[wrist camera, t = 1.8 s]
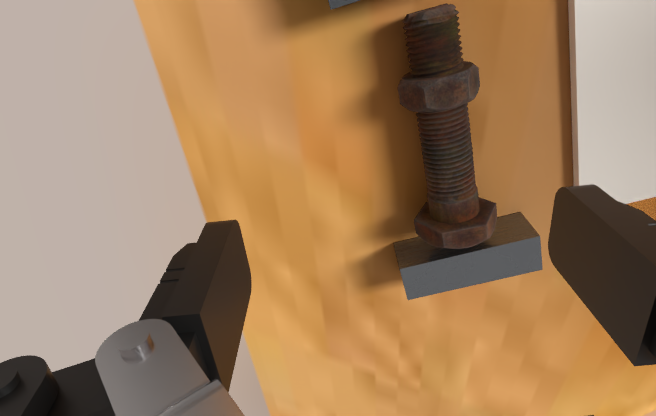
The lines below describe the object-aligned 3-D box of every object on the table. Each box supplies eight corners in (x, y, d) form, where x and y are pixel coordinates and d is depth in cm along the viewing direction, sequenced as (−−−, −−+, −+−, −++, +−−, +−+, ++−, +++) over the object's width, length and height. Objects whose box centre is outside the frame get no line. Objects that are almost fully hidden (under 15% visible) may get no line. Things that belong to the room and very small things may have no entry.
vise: (475, -253, 21) (500, -291, 18) (523, 243, 35) (542, 269, 32) (281, -178, 23) (274, -202, 20) (400, 272, 36) (407, 299, 33)
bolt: (428, 3, 29) (453, 205, 35) (365, 23, 27) (404, 231, 33) (500, -8, 24) (514, 228, 30) (429, 15, 22) (460, 260, 28)
